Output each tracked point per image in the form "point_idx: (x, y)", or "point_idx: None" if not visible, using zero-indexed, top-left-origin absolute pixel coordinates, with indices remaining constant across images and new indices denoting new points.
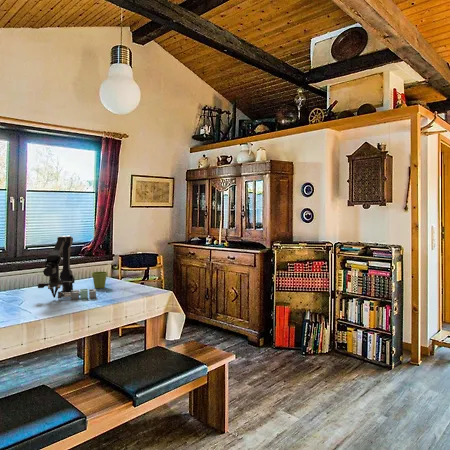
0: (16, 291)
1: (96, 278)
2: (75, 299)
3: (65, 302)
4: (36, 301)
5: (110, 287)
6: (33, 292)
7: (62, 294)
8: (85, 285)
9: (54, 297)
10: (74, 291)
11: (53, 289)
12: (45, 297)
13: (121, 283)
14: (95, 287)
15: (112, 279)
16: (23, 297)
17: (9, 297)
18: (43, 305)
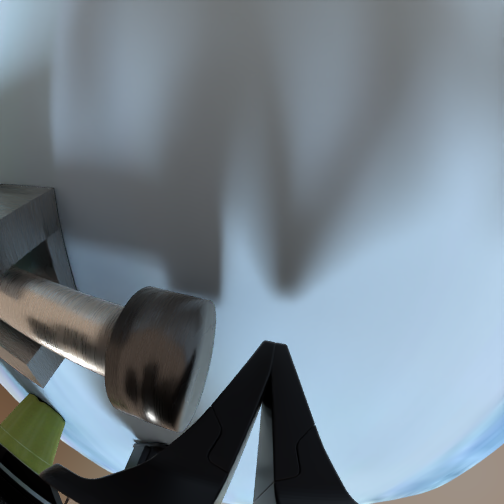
0: (404, 493)
1: (23, 440)
2: (16, 187)
3: (105, 51)
4: (493, 329)
5: (13, 380)
6: (356, 489)
7: (107, 328)
8: (118, 458)
9: (271, 342)
10: (7, 339)
11: (261, 501)
12: (343, 431)
13: (16, 396)
14: (54, 413)
15: (67, 443)
16: (457, 445)
17: (493, 444)
18: (494, 11)
